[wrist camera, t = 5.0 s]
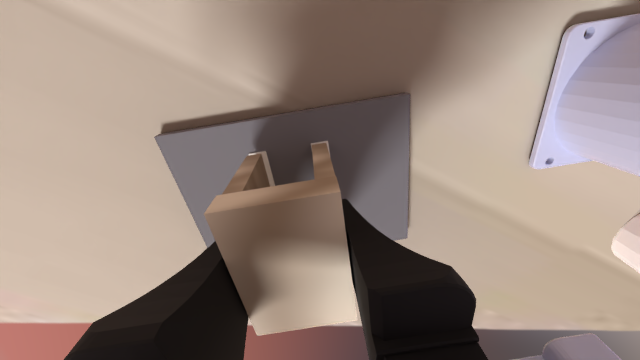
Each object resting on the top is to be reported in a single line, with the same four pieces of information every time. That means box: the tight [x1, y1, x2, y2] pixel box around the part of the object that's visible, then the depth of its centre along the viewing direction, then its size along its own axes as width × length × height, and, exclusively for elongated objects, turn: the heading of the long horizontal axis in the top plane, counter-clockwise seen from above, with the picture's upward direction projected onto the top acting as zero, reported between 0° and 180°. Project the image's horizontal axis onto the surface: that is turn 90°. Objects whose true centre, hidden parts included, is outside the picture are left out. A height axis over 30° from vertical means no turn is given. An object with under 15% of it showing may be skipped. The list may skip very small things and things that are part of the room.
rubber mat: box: [155, 93, 410, 248], centre depth 15 cm, size 14×10×1 cm
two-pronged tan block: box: [204, 143, 357, 336], centre depth 12 cm, size 4×6×6 cm
